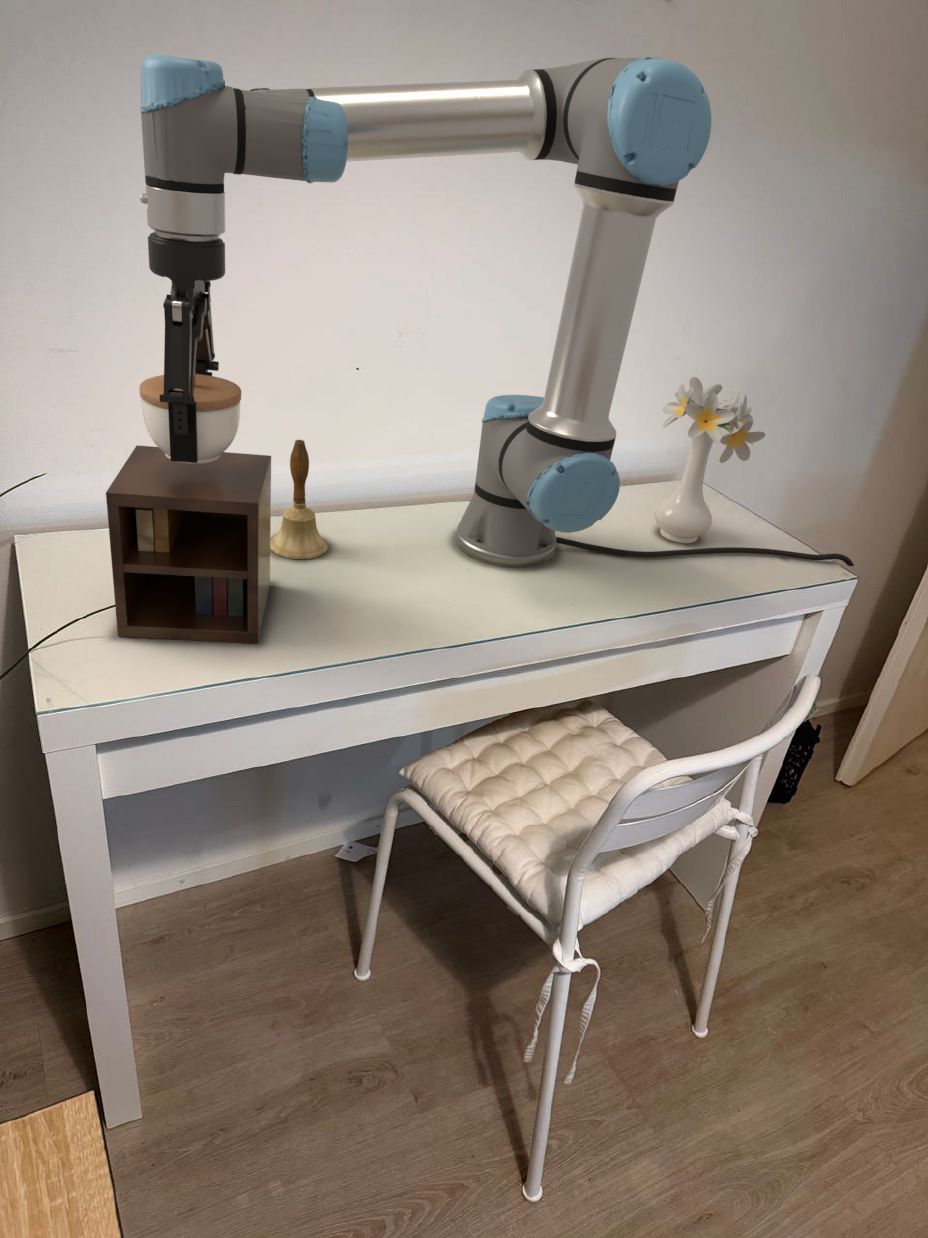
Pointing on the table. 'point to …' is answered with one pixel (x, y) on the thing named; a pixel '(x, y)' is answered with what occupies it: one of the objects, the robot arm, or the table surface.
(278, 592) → the table surface
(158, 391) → the trinket box
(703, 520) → the flower vase
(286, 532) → the hand bell
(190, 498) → the bookshelf
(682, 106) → the robot arm
